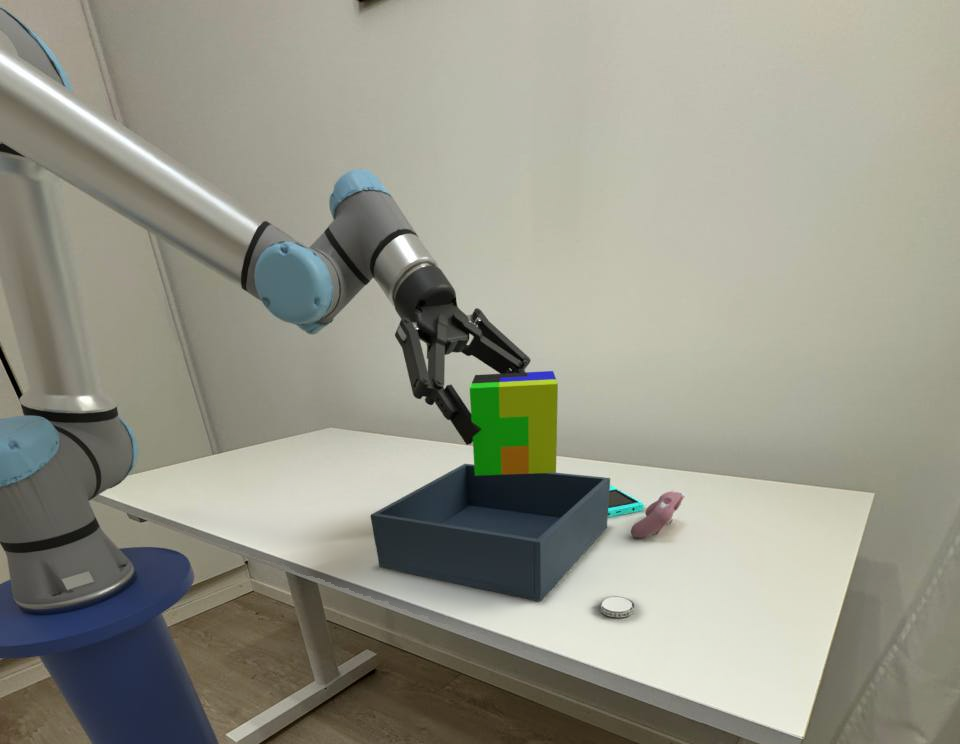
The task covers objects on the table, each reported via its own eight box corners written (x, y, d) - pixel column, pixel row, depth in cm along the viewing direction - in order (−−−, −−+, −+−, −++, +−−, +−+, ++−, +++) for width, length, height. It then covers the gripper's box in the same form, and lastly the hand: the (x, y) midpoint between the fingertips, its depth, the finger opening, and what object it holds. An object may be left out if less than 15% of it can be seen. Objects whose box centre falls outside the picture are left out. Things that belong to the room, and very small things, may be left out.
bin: (379, 567, 80) (370, 514, 76) (468, 508, 99) (464, 463, 94) (540, 601, 69) (540, 542, 65) (607, 528, 87) (610, 477, 83)
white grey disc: (628, 599, 68) (629, 594, 68) (637, 616, 65) (638, 611, 64) (596, 601, 68) (596, 597, 68) (603, 618, 65) (604, 613, 64)
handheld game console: (599, 483, 106) (599, 476, 105) (645, 510, 93) (646, 502, 92) (550, 492, 103) (551, 485, 102) (592, 520, 90) (592, 512, 90)
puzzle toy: (551, 450, 76) (553, 370, 71) (555, 472, 68) (557, 383, 62) (479, 453, 77) (475, 375, 71) (474, 475, 69) (469, 388, 63)
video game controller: (652, 551, 83) (679, 514, 78) (626, 534, 83) (651, 496, 79) (668, 527, 90) (693, 492, 85) (644, 512, 91) (668, 476, 86)
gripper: (470, 305, 81) (552, 425, 80) (328, 321, 67) (425, 467, 66) (495, 258, 75) (584, 388, 74) (345, 266, 61) (452, 426, 60)
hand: (509, 426), depth 70 cm, fingers closed on puzzle toy, 12 cm apart
